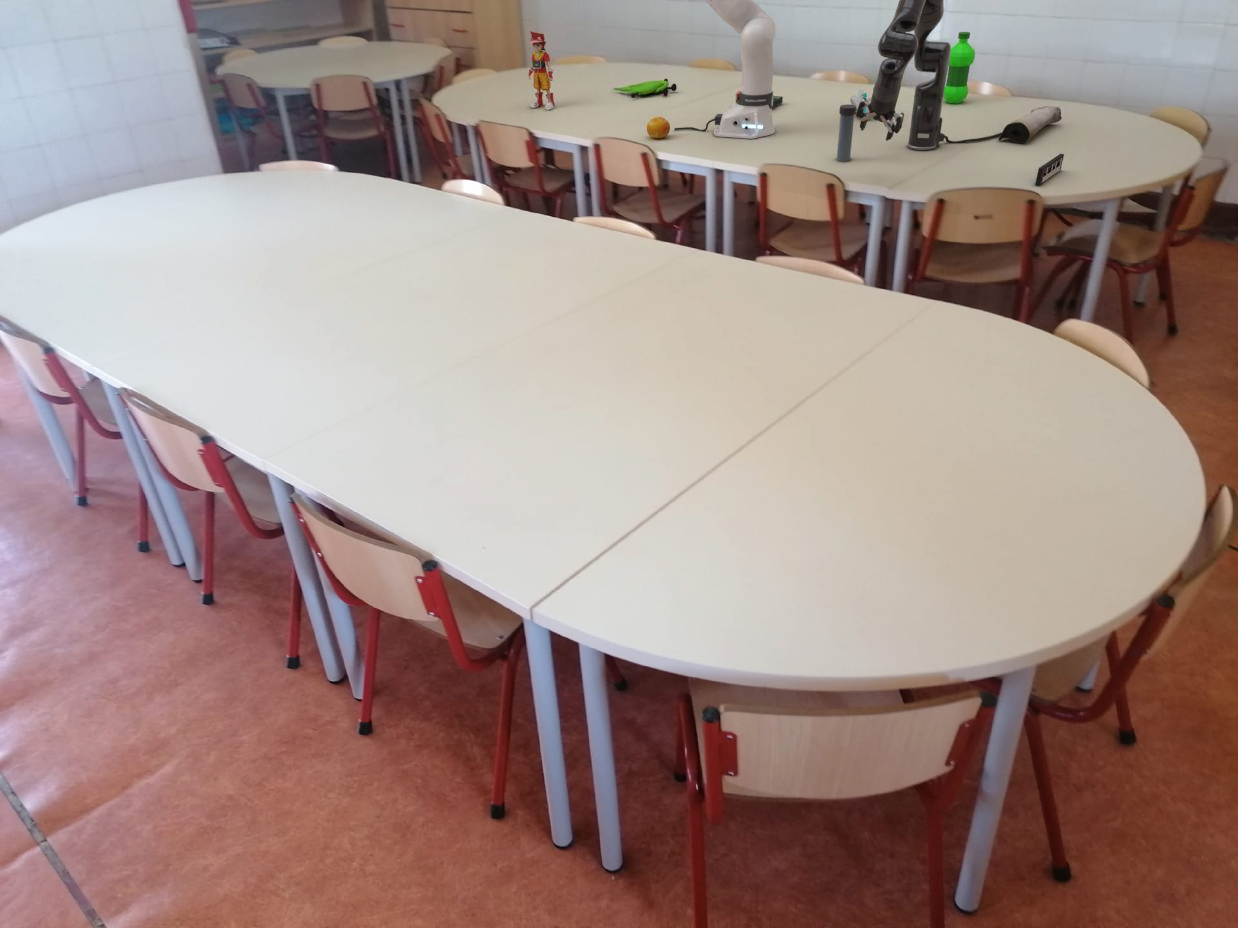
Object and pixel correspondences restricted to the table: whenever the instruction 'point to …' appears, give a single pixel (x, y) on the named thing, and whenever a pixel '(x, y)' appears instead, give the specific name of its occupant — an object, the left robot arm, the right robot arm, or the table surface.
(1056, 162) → the midi keyboard
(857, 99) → the anatomical model
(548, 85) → the toy
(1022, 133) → the rolled mat
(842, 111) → the lid
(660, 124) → the fruit
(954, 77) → the plastic bottle
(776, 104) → the disk drive
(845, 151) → the jar
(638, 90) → the toy
